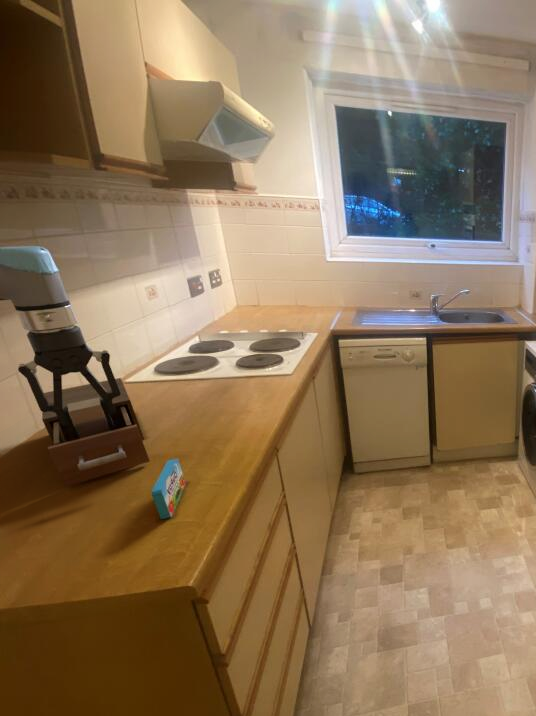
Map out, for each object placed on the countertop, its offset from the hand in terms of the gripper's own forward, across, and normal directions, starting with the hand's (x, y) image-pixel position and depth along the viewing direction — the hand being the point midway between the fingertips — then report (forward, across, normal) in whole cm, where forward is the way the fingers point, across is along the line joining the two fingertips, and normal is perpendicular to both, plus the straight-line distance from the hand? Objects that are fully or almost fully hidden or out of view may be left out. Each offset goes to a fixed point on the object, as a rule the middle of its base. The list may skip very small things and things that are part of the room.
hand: (95, 432), depth 94 cm
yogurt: (+8, +8, -27) cm, 29 cm away
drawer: (+7, 0, -2) cm, 7 cm away
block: (0, 0, 0) cm, 0 cm away
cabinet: (+8, 0, +17) cm, 19 cm away
